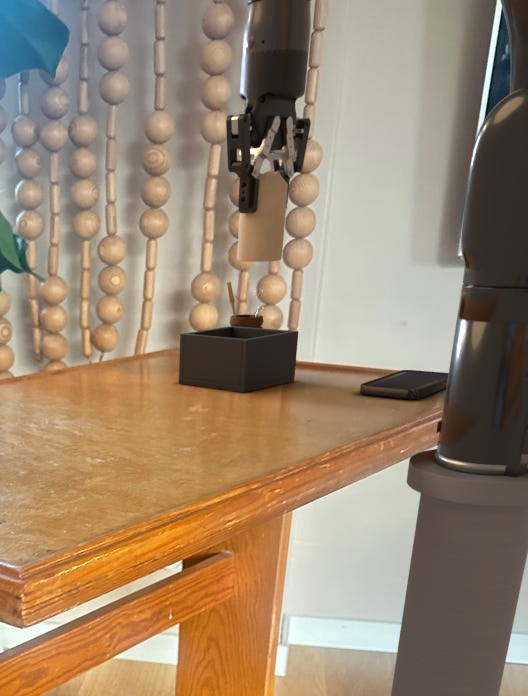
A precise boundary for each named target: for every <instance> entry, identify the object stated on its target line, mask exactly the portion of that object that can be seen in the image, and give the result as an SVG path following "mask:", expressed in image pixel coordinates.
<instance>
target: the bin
mask: <svg viewBox="0 0 528 696" xmlns="http://www.w3.org/2000/svg"><path fill="white" fill-rule="evenodd" d="M298 342H299V331H298V330H288V329H287V330H286V329H276V328H275V329H274V328H251V327H239V326H231V325H229V326H222V327H216V328H211V329H209V328H208V329H203V330H197V331H190V332H184V333H180V334H179V355H178V357H179V359H178V360H179V361H178V384H180V385H185V386H186V385H187V386H193V387H194V386H195V387H201V388H209V389H214V390H222V391H223V390H224V391H228V392H229V391H230V392H237V393H243V394H245V393H248V392H253V391H258V390H261V389H266V388H271V387H275V386H279V385H280V386H281V385H283V384H287V383H292V382H293V383H294V382H295V376H296V367H297V366H296V365H297V353H298Z"/></svg>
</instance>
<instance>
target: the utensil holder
mask: <svg viewBox="0 0 528 696" xmlns="http://www.w3.org/2000/svg"><path fill="white" fill-rule="evenodd" d="M226 286H227V292H228V299H229V304H231V310H232V315H231V316H230V318H229V326H239V327H251V328H263V326H262V325H263V324H264V316H263V315H262V313H263V311H264V309H265V307H266V303H267V301H264V299H265V300H267V298H268V295H267V292H266V291H265V289H262V288H258V289H257V292H258V293H257V296H255V295H256V292H253V293H252V296H251V300H250V304H249V306H252V303H257V302H258V301H257V300H254V301H253V298H254V296H255V298H254V299H258V298H259V295H260V292H265V295H264V293H262V294H261V295H260V298H263V296H265V297H264V299H260V300H259V302H263V301H264V303H259V305H258V306H262V305H263V307H258V308H257V311H256V309H253V312H255V311H256V314H253V313H252V310H251V309H252V308H255V307H256V306H257V304H253V306H252V307H249V314H237V313H236V308H235V296H234V292H233V287H232V282H231V281H227V282H226ZM260 304H261V305H260ZM261 308H262V309H261ZM263 329H264V328H263Z"/></svg>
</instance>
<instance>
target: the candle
mask: <svg viewBox="0 0 528 696" xmlns="http://www.w3.org/2000/svg"><path fill="white" fill-rule="evenodd" d="M256 179H259V189H258V202H257V211H256V212H255V213H240V212H239V220H238V221H239V222H238V236H237V237H238V238H237V252H236V260H237V261H240V262H251V263H252V262H253V263H254V262H255V263H256V262H259V263H260V262H263V263H264V262H279V261H281V260H282V257H283V247H284V237H285V224H286V213H287V209H286V202H287V190H288V184H287V183H286V181H285V180H284V179H283V177H282V176H281V175H280V173H279V172H278V171H277V172H271V170H269V171H267V172H264V173H262V172H260V173H259V176H258V177H257V178H256Z"/></svg>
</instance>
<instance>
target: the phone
mask: <svg viewBox="0 0 528 696" xmlns="http://www.w3.org/2000/svg"><path fill="white" fill-rule="evenodd" d="M448 374H449V372H442V371H430V370H429V371H427V370H417V369H401V370H399V371H396V372H393V373H390V374H387V375H383V376H380V377H378V378H375V379H372V380H369V381H367V382H366V381H365V382H363V383H361V384H360V388H359V394H360V395H365V396H366V395H367V396H376V397H385V398H395V399H405V400H418V399H422V398H424V397H426V396H429V395H431V394H434V393H436V392H439V391H441V390H444V389H446V387H447V380H448Z"/></svg>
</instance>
